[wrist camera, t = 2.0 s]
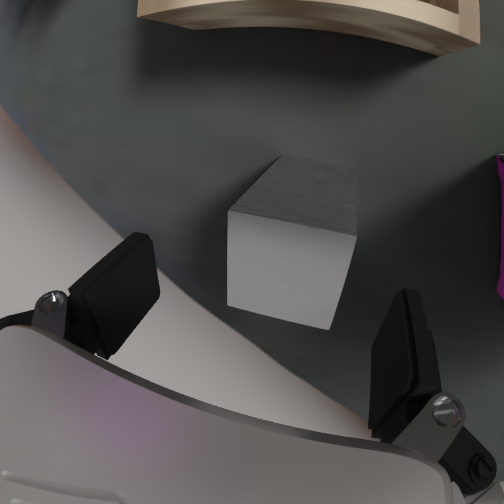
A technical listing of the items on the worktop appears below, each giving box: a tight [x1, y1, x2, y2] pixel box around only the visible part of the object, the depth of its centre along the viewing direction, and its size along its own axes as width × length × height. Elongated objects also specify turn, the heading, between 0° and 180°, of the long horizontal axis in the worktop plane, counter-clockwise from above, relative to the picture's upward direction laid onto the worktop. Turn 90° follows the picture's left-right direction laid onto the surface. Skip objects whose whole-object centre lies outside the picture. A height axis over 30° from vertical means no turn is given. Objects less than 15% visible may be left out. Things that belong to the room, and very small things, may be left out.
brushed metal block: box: [227, 155, 357, 330], centre depth 15 cm, size 4×4×9 cm
